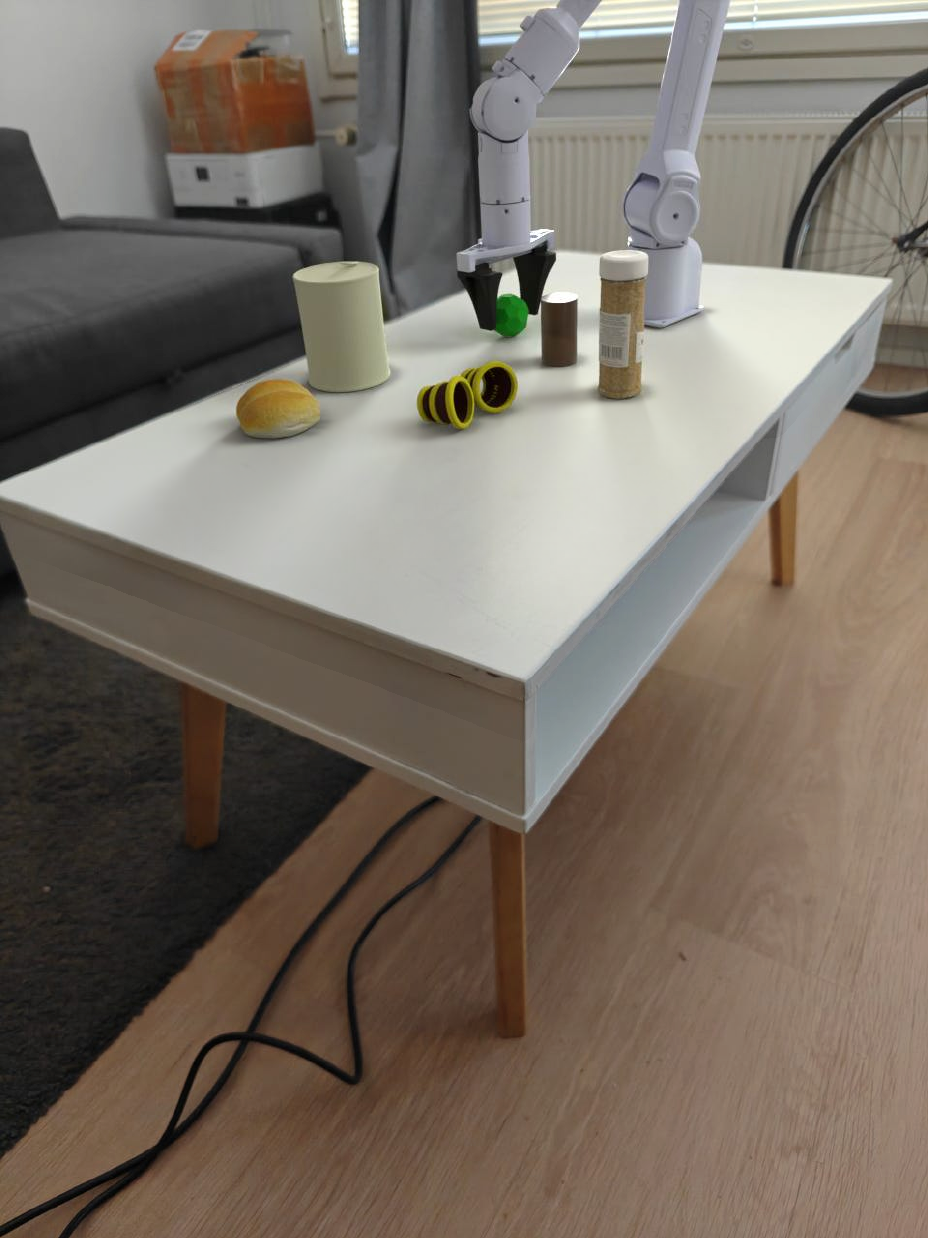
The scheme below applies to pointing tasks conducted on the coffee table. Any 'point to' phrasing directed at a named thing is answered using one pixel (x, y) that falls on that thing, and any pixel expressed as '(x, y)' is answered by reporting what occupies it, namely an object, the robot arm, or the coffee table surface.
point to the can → (342, 325)
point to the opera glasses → (468, 395)
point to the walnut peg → (559, 329)
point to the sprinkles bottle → (621, 322)
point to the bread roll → (277, 409)
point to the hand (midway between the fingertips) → (509, 321)
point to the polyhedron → (511, 315)
